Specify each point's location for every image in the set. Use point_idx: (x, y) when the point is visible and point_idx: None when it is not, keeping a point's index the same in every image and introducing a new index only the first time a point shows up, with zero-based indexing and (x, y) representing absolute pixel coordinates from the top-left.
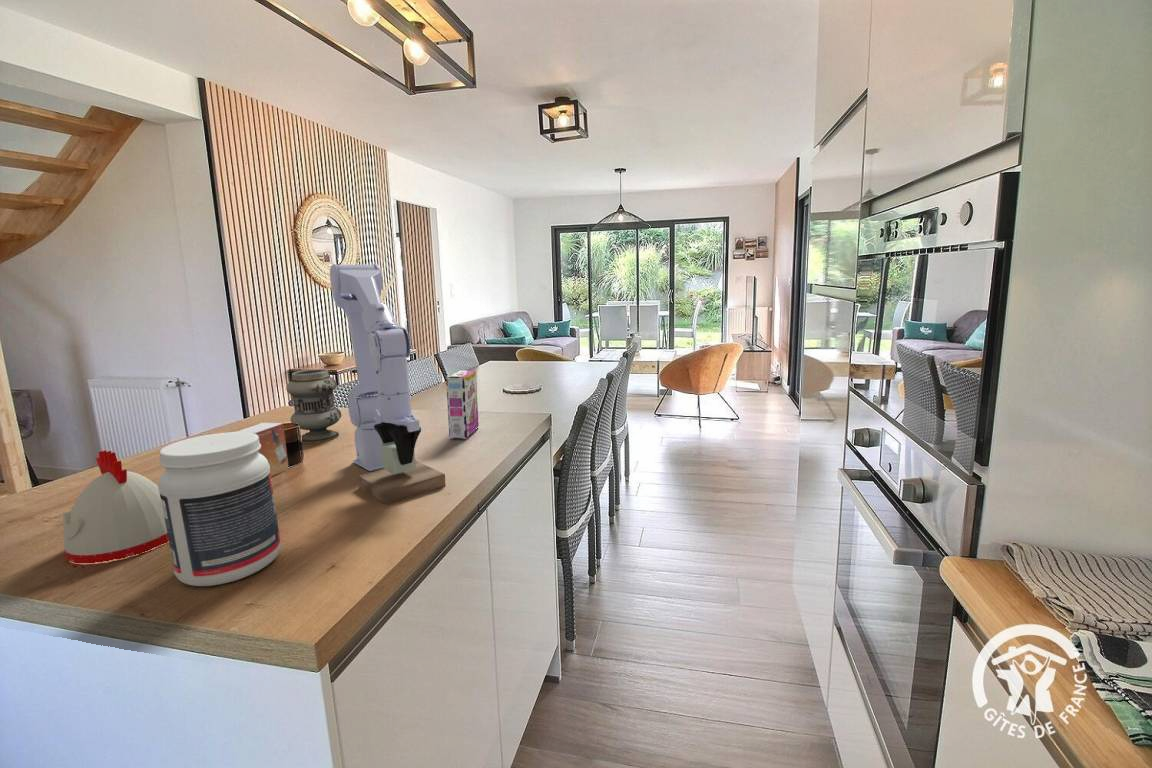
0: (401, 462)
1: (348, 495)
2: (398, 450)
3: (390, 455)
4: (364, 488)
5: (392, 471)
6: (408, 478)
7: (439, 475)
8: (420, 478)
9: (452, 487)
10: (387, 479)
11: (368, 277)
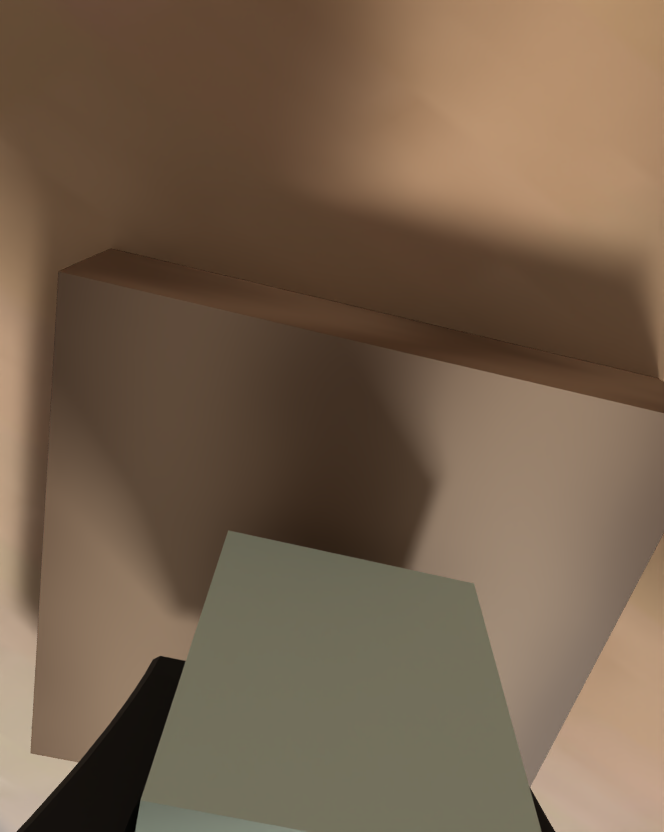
0: (146, 676)
1: (619, 209)
2: (60, 814)
3: (230, 704)
4: (564, 361)
5: (254, 552)
6: (190, 585)
7: (34, 720)
8: (99, 624)
9: (12, 675)
10: (340, 489)
11: None
